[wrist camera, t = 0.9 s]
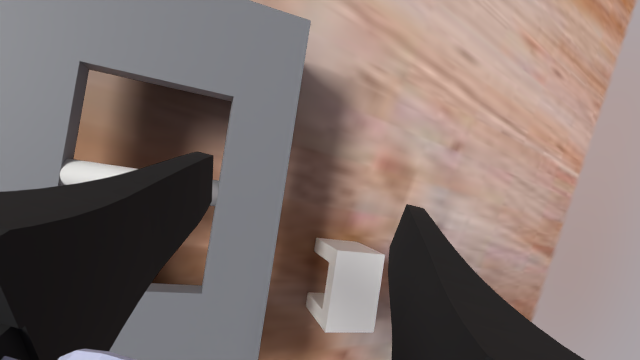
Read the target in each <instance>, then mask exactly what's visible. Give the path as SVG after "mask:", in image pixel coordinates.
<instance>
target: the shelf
mask: <svg viewBox="0 0 640 360" xmlns="http://www.w3.org/2000/svg"><path fill="white" fill-rule="evenodd" d="M310 23H311V21H310V20H307V19H304V18H301V17H298V16H295V15H292V14H289V13H286V12H283V11H280V10H277V9H274V8H271V7H268V6H265V5H262V4H259V3H256V2H252V1H249V0H0V192H4V191H18V190H29V189H40V188H48V187H55V186H62V185H69V184H77V183H82V182H88V181H93V180H98V179H103V178H107V177H111V176H116V175H119V174H123V173H127V172H130V171H134V170H137V169H136V168H129V167H122V166H115V165H108V164H101V163H95V162H88V161H81V160H74V159H73V158H74V152H75V147H76V141H77V135H78V130H79V124H80V118H81V112H82V107H83V101H84V95H85V90H86V84H87V78H88V72H89V69H90V70H94V71H99V72H103V73H107V74H112V75H116V76H121V77H125V78H130V79H134V80H139V81H143V82H147V83H152V84H156V85H161V86H165V87H170V88H174V89H179V90H183V91H187V92H192V93H196V94H201V95H205V96H210V97H214V98H218V99H223V100H227V101H232V104H231V110H230V116H229V122H228V129H227V135H226V141H225V147H224V153H223V159H222V166H221V172H220V178H219V181H217V180H213V182H212V202H211V204H210V206H215V209H214V215H213V221H212V227H211V234H210V240H209V246H208V252H207V258H206V265H205V271H204V277H203V283H202V286H201V285H179V284H157V283H151V284H150V286H149V287H148V289H147V290H146V292H145V293H144V295H143V296H142V298H141V299H140V301H139V302H138V304H137V306H136V307H135V309H134V310H133V312H132V314H131V315H130V317H129V318H128V320H127V322H126V323H125V325H124V327H123V328H122V330H121V332H120V333H119V335H118V337H117V339H116V340H115V342H114V344H113V345H112V347H111V349H110V351H109V352H112V353H115V354H119V355H122V356H126V357H129V358H133V359H137V360H258V356H259V350H260V343H261V337H262V330H263V324H264V317H265V311H266V305H267V298H268V292H269V285H270V279H271V273H272V266H273V260H274V253H275V247H276V241H277V234H278V228H279V221H280V215H281V208H282V202H283V196H284V189H285V183H286V176H287V170H288V164H289V157H290V151H291V144H292V138H293V132H294V125H295V119H296V112H297V106H298V99H299V93H300V87H301V80H302V74H303V67H304V61H305V55H306V48H307V42H308V35H309V29H310Z"/></svg>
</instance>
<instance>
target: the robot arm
mask: <svg viewBox="0 0 640 360" xmlns="http://www.w3.org/2000/svg"><path fill="white" fill-rule="evenodd" d="M212 182H213V155H209V154H205V153H201V152H194V153H189V154H186V155H183V156H179V157H176V158H173V159H170V160H167V161H164V162H160V163H157V164H154V165H151V166H148V167H144V168H141V169H137V170H134V171H130V172H127V173H123V174H119V175H116V176H111V177H107V178H103V179H98V180H93V181H88V182H82V183H77V184H69V185H62V186H55V187H48V188H40V189H29V190H18V191H4V192H0V360H137V359H133V358H129V357H126V356H122V355H119V354H115V353H112V352H109V351H110V349H111V347H112V345H113V344H114V342H115V340H116V339H117V337H118V335H119V333H120V332H121V330H122V328H123V327H124V325H125V323H126V322H127V320H128V318H129V317H130V315H131V314H132V312H133V310H134V309H135V307H136V306H137V304H138V302H139V301H140V299H141V298H142V296H143V295H144V293H145V292H146V290H147V289H148V287H149V286H150V284H151V283H152V281H153V280H154V278H155V277H156V275H157V274H158V273H159V271H160V270H161V269H162V267H163V266H164V265H165V264H166V262H167V261H168V260H169V259H170V258H171V256H172V255H173V254H174V253H175V252H176V250H177V249H178V248H179V247H180V246H181V244H182V243H183V242H184V241H185V240H186V238H187V237H188V236H189V235H190V233H191V232H192V231H193V230H194V228H195V227H196V226H197V225H198V223H199V222H200V221H201V219H202V217H203V216H204V214H205V213H206V211H207V209H208V207H209V206H210V204H211V202H212ZM388 279H389V294H390V308H391V322H392V360H584V359H583V358H581V357H580V356H578V355H576V354H575V353H573V352H572V351H570V350H569V349H567V348H566V347H564V346H563V345H561V344H560V343H559V342H557V341H556V340H554V339H553V338H552V337H550V336H549V335H548V334H546V333H545V332H544V331H542V330H541V329H539V328H538V327H537V326H535V325H534V324H533V323H532V322H530V321H529V320H528V319H526V318H525V317H524V316H523V315H521V314H520V313H519V312H518V311H517V310H515V309H514V308H513V307H512V306H511V305H509V304H508V303H507V302H506V301H505V300H504V299H502V298H501V297H500V296H499V295H498V294H497V293H496V292H495V291H494V290H493V289H492V288H491V287H490V286H489V285H488V284H486V283H485V282H484V281H483V280H482V279H481V278H480V277H479V276H478V275H477V274H476V273H475V271H474V270H473V269H472V268H471V267H470V266H469V265H468V264H467V263H466V261H465V260H464V259H463V258H462V257H461V256H460V255H459V253H458V252H457V251H456V250H455V249H454V247H453V246H452V245H451V244H450V242H449V241H448V240H447V238H446V237H445V236H444V235H443V233H442V232H441V231H440V229H439V228H438V227H437V225H436V224H435V222H434V221H433V220H432V218H431V217H430V216H429V214H428V213H427V212H426V211H425V209H424V208H420V207H416V206H412V205H408V204H407V205H406V207H405V210H404V212H403V215H402V217H401V220H400V223H399V225H398V228H397V230H396V233H395V235H394V238H393V240H392V243H391V245H390V250H389V264H388Z"/></svg>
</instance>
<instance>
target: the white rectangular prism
mask: <svg viewBox="0 0 640 360" xmlns="http://www.w3.org/2000/svg"><path fill="white" fill-rule="evenodd" d="M314 252H316V253H317V254H318V255H320V256H321V257H323V258H324V259H325V260H327V261H328V262H329V268H328V275H327V281H326V288H325V293H311V292H308V294H307V301H306V307H307V309H308V310H309V311H310V313H311V314H312V315H313V317H314V318H315V319H316V321H317V322H318V323H319V325H320V326H321V327H322V329H323V330H324V331H325V332H355V333H374V327H375V320H376V313H377V306H378V300H379V293H380V286H381V279H382V272H383V265H384V259H385V254H382V253H380V252H378V251H376V250H374V249H372V248H369V247H367V246H365V245H363V244H361V243H359V242H354V241H344V240H335V239H325V238H316V242H315V248H314Z"/></svg>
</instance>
